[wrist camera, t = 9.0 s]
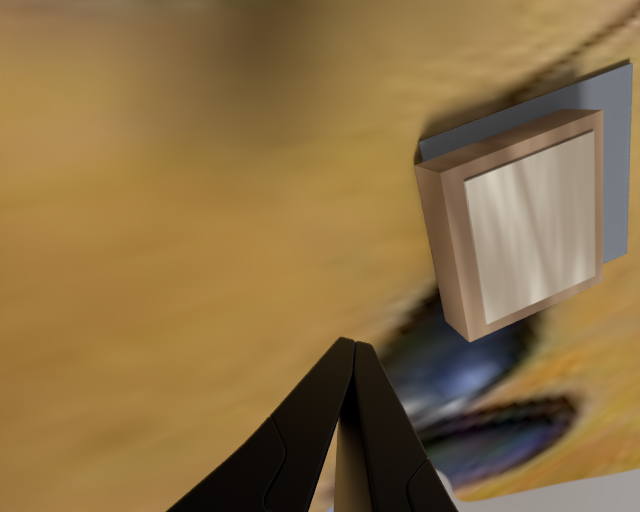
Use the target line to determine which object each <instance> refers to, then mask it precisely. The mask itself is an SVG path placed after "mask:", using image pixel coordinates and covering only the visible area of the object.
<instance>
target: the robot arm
mask: <svg viewBox="0 0 640 512" xmlns="http://www.w3.org/2000/svg"><path fill="white" fill-rule="evenodd" d="M337 422H338V431H337V453H336V474H335V495H334V512H458V510H457V509H456V507H455V505H454V503H453V502H452V500H451V499H450V497H449V495H448V493H447V491H446V489H445V487H444V485H443V484H442V482H441V480H440V478H439V476H438V474H437V472H436V470H435V468H434V466H433V464H432V462H431V460H430V459H428V455H427V453H426V451H425V449H424V447H423V445H422V443H421V441H420V439H419V438H418V436H417V434H416V432H415V430H414V428H413V426H412V424H411V422H410V420H409V418H408V416H407V414H406V412H405V410H404V408H403V406H402V404H401V402H400V400H399V398H398V396H397V394H396V392H395V390H394V388H393V386H392V384H391V382H390V380H389V378H388V376H387V374H386V372H385V370H384V368H383V366H382V364H381V362H380V360H379V358H378V356H377V354H376V352H375V350H374V348H373V346H372V345H371V344H369V343H365V342H361V341H356V342H355V341H354V340H353V339H349V338H345V337H339V338H338V339H337V340H336V341H335V342H334V344H333V345H332V346H331V347H330V348H329V349H328V350H327V352H326V353H325V354H324V355H323V356H322V357H321V358H320V359H319V361H318V362H317V363H316V364H315V365H314V366H313V367H312V368H311V370H310V371H309V372H308V373H307V374H306V375H305V376H304V378H303V379H302V380H301V381H300V382H299V383H298V384H297V385H296V387H295V388H294V389H293V390H292V391H291V392H290V393H289V395H288V396H287V397H286V398H285V399H284V400H283V401H282V402H281V404H280V405H279V406H278V407H277V408H276V409H275V410H274V412H273V413H272V414H271V415H270V417H268V418H267V419H266V420H265V421H264V422H263V423H262V424H261V426H260V427H259V428H258V429H257V430H256V431H255V432H254V433H253V434H252V435H251V436H250V437H249V438H248V439H247V440H246V441H245V443H244V444H242V445H241V446H240V447H239V448H238V449H237V450H236V451H235V452H234V453H233V454H232V455H231V456H229V457H228V458H227V459H226V460H225V461H224V462H223V463H222V464H220V465H219V466H218V467H217V468H216V469H215V470H213V471H212V472H211V473H210V474H209V475H208V476H206V477H205V478H204V479H203V480H202V481H201V482H199V483H198V484H197V485H196V486H195V487H194V488H192V489H191V490H190V491H189V492H188V493H187V494H186V495H184V496H183V497H182V498H181V499H180V500H179V501H177V502H176V503H175V504H174V505H173V506H172V507H170V508H169V509H168V510H167V511H166V512H308V511H309V508H310V504H311V501H312V498H313V495H314V492H315V489H316V486H317V483H318V480H319V477H320V474H321V471H322V468H323V465H324V462H325V458H326V455H327V452H328V449H329V446H330V443H331V440H332V437H333V434H334V431H335V428H336V425H337Z"/></svg>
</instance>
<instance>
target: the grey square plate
mask: <svg viewBox="0 0 640 512" xmlns="http://www.w3.org/2000/svg"><path fill="white" fill-rule="evenodd" d="M632 72H633V63H628V64H625V65H622V66H620V67H617V68H614V69H612V70H609V71H606V72H604V73H601V74H598V75H596V76H593V77H590V78H588V79H585V80H582V81H580V82H577V83H574V84H572V85H569V86H566V87H564V88H561V89H558V90H556V91H553V92H550V93H548V94H545V95H542V96H540V97H537V98H534V99H532V100H529V101H526V102H523V103H521V104H518V105H515V106H513V107H510V108H507V109H505V110H502V111H499V112H497V113H494V114H491V115H489V116H486V117H483V118H481V119H478V120H475V121H473V122H470V123H467V124H465V125H462V126H459V127H457V128H454V129H451V130H449V131H446V132H443V133H441V134H438V135H435V136H433V137H430V138H427V139H425V140H422V141H419V147H420V152H421V158H422V162H424V161H427V160H430V159H432V158H435V157H438V156H440V155H443V154H445V153H448V152H451V151H453V150H456V149H459V148H461V147H464V146H466V145H469V144H472V143H474V142H477V141H479V140H482V139H485V138H487V137H490V136H493V135H495V134H498V133H500V132H503V131H506V130H508V129H511V128H514V127H516V126H519V125H521V124H524V123H527V122H529V121H532V120H534V119H537V118H540V117H542V116H545V115H548V114H550V113H553V112H555V111H558V110H561V109H589V110H603V264H604V263H606V262H609V261H611V260H613V259H615V258H618V257H620V256H622V255H624V254H627V237H628V204H629V171H630V138H631V105H632Z"/></svg>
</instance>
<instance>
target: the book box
mask: <svg viewBox="0 0 640 512" xmlns="http://www.w3.org/2000/svg"><path fill="white" fill-rule="evenodd" d="M414 167H415V172H416V177H417V182H418V187H419V192H420V197H421V202H422V207H423V212H424V217H425V222H426V226H427V231H428V236H429V241H430V246H431V251H432V256H433V261H434V266H435V271H436V276H437V281H438V286H439V291H440V296H441V301H442V306H443V311H444V316H445V321H446V322H447V323H449V324H450V325H451V326H452V327H453V328H454V329H455V330H456V331H457V332H459V333H460V334H461V335H462V336H463V337H464V338H465V339H466V340H467V341H469V342H472V341H474V340H476V339H478V338H480V337H483V336H485V335H487V334H489V333H491V332H494V331H496V330H498V329H500V328H502V327H505V326H507V325H509V324H511V323H514V322H516V321H518V320H520V319H522V318H525V317H527V316H529V315H531V314H533V313H536V312H538V311H540V310H542V309H544V308H547V307H549V306H551V305H553V304H555V303H558V302H560V301H562V300H564V299H566V298H569V297H571V296H573V295H575V294H577V293H580V292H582V291H584V290H586V289H588V288H591V287H593V286H595V285H597V284H599V283H602V282H603V110H589V109H561V110H558V111H555V112H553V113H550V114H548V115H545V116H542V117H540V118H537V119H534V120H532V121H529V122H527V123H524V124H521V125H519V126H516V127H514V128H511V129H508V130H506V131H503V132H500V133H498V134H495V135H493V136H490V137H487V138H485V139H482V140H479V141H477V142H474V143H472V144H469V145H466V146H464V147H461V148H459V149H456V150H453V151H451V152H448V153H445V154H443V155H440V156H438V157H435V158H432V159H430V160H427V161H424V162H422V163H419V164H417V165H414Z"/></svg>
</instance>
